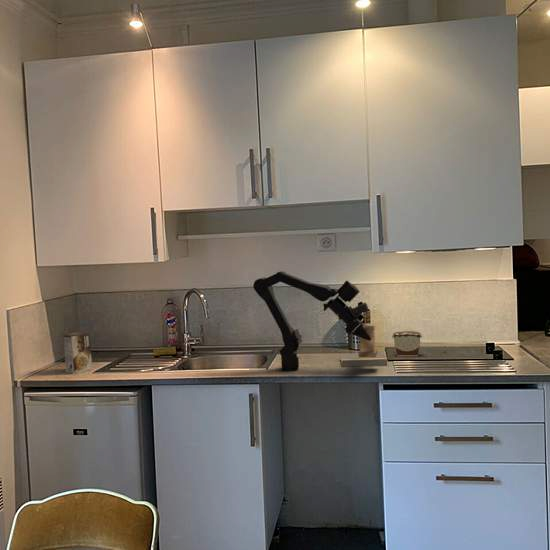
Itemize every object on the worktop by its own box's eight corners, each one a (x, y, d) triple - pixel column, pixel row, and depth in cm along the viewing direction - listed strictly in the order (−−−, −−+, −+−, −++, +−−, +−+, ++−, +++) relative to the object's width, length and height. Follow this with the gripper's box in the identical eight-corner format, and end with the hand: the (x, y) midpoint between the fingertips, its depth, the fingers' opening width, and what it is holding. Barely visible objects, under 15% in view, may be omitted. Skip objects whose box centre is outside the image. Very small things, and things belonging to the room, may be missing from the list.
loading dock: (342, 366, 245) (341, 360, 244) (340, 359, 257) (340, 353, 257) (387, 365, 243) (386, 358, 243) (383, 358, 256) (383, 352, 256)
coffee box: (84, 368, 264) (81, 331, 263) (92, 369, 260) (90, 332, 259) (65, 372, 257) (62, 334, 256) (73, 374, 253) (71, 335, 252)
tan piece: (358, 357, 234) (357, 326, 233) (360, 353, 240) (359, 323, 240) (375, 357, 232) (374, 326, 231) (377, 353, 239) (376, 323, 238)
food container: (422, 353, 262) (422, 330, 262) (422, 356, 256) (421, 333, 256) (393, 353, 266) (393, 330, 265) (392, 356, 260) (392, 333, 259)
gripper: (353, 298, 227) (383, 328, 225) (358, 293, 245) (387, 320, 243) (332, 319, 229) (363, 348, 227) (339, 312, 247) (367, 339, 245)
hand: (371, 338), depth 235 cm, fingers closed on tan piece, 5 cm apart
